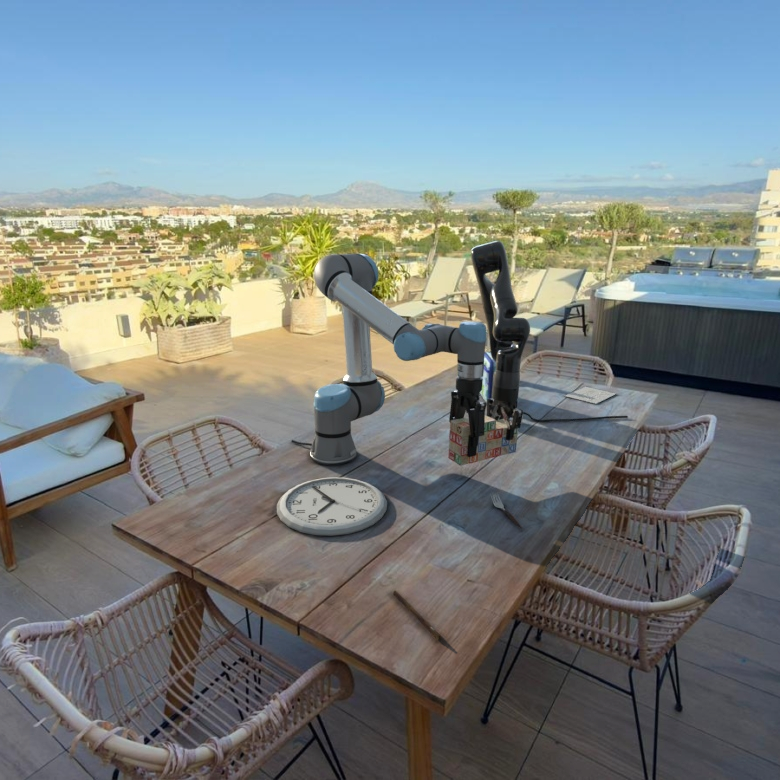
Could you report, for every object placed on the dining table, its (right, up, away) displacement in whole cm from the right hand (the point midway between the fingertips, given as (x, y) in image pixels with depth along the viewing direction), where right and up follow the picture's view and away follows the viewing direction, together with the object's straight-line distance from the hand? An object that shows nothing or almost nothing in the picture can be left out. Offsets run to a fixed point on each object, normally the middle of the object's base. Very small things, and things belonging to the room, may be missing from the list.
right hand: (501, 435), depth 161 cm
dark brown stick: (-30, -30, -59) cm, 72 cm away
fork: (-3, -19, -22) cm, 29 cm away
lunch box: (+11, +10, +72) cm, 74 cm away
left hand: (-12, -4, -6) cm, 14 cm away
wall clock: (-50, -17, -19) cm, 56 cm away
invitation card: (+58, +12, +80) cm, 100 cm away
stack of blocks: (-6, -6, -2) cm, 9 cm away
